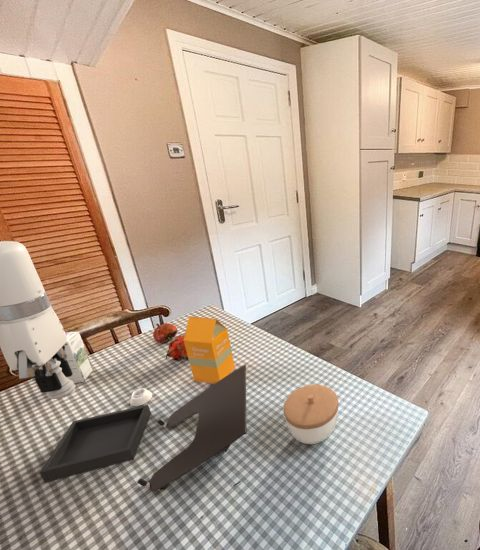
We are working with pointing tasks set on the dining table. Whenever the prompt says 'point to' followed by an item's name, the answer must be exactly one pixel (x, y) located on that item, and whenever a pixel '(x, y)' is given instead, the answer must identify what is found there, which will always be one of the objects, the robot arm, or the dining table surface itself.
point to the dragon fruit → (177, 349)
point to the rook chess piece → (66, 383)
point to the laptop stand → (206, 427)
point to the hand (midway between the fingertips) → (57, 382)
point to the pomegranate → (164, 332)
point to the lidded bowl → (311, 413)
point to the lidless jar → (140, 397)
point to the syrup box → (77, 357)
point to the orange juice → (208, 349)
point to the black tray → (97, 443)
